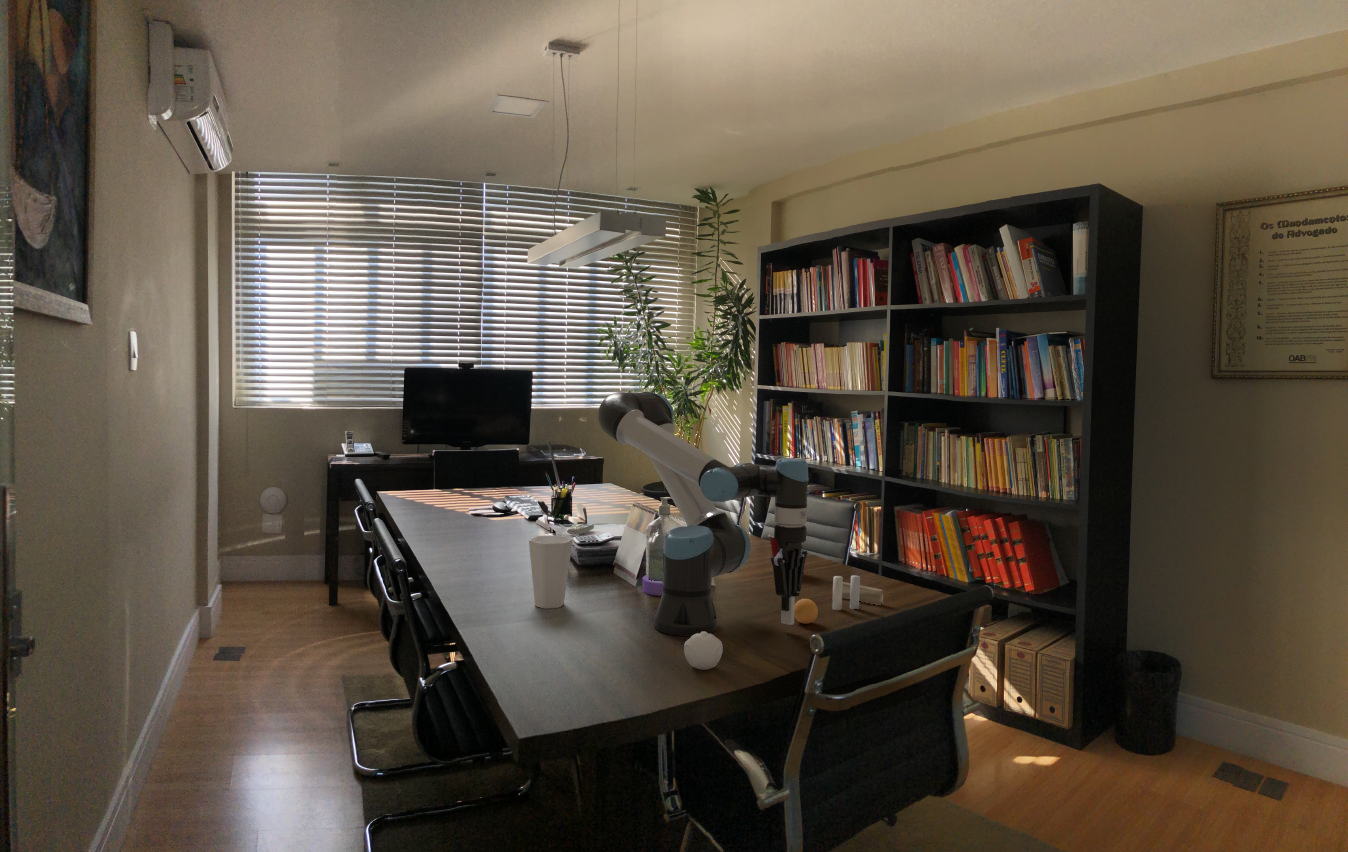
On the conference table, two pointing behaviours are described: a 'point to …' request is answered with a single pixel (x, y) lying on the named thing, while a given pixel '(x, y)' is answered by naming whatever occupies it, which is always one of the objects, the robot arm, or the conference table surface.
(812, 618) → the ball
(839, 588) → the pin
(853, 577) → the pin
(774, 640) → the conference table surface
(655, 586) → the masking tape
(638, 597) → the conference table surface
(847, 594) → the stop wall
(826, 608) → the conference table surface
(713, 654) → the white round lump
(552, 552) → the cup
